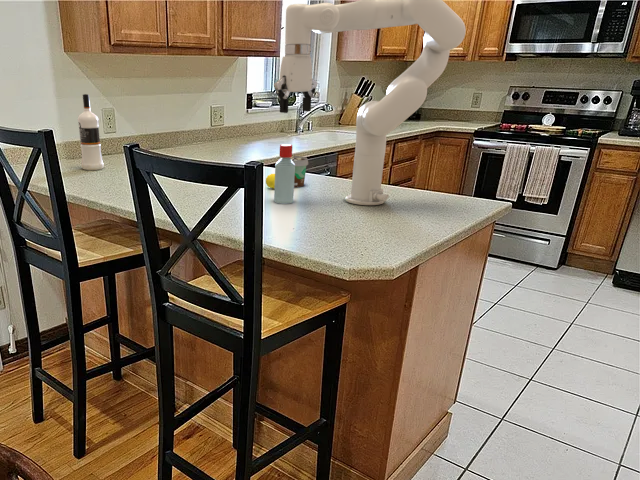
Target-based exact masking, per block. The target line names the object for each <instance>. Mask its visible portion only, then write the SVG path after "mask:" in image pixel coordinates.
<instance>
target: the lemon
mask: <svg viewBox="0 0 640 480" xmlns="http://www.w3.org/2000/svg"><path fill="white" fill-rule="evenodd" d="M265 184H266V186H267V187H268V188H270V189H273V190H274V188H275V173H270V174H268V175H266V178H265Z"/></svg>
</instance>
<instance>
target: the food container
mask: <svg viewBox="0 0 640 480" xmlns="http://www.w3.org/2000/svg"><path fill="white" fill-rule="evenodd" d="M291 160H292V161H293V163H295V178H294V188H302V187H304V186H305V180H306V173H307V166H308V165H309V160H308V158H307V157H306V156H300V155H293V159H291Z"/></svg>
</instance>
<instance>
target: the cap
mask: <svg viewBox="0 0 640 480" xmlns="http://www.w3.org/2000/svg"><path fill="white" fill-rule="evenodd" d="M278 155H279V157H280V158H282V157H283V158H289V157H290V158H292V157H293V145H292V144H286V143H285V144H280V145H279V154H278Z"/></svg>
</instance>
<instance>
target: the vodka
mask: <svg viewBox="0 0 640 480" xmlns="http://www.w3.org/2000/svg"><path fill="white" fill-rule="evenodd" d="M82 102H83V103H82V104H83V111H82V112H81V113H80V114H79V115H78V117H77V122H78V123H77V124H78V130H79V131H78V132H79V140H80V145H79V146H80V150H81V163H80V164H81V168H82V169H83V170H84V171H99V170H102V169H104V167H105V165H104V161H103V155H102V148H101V146H102V144H101V138H100V124H99V117H98V116H97V114H95V113H94V112H92V111H91V101H90V94H87V93H83V94H82Z"/></svg>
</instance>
